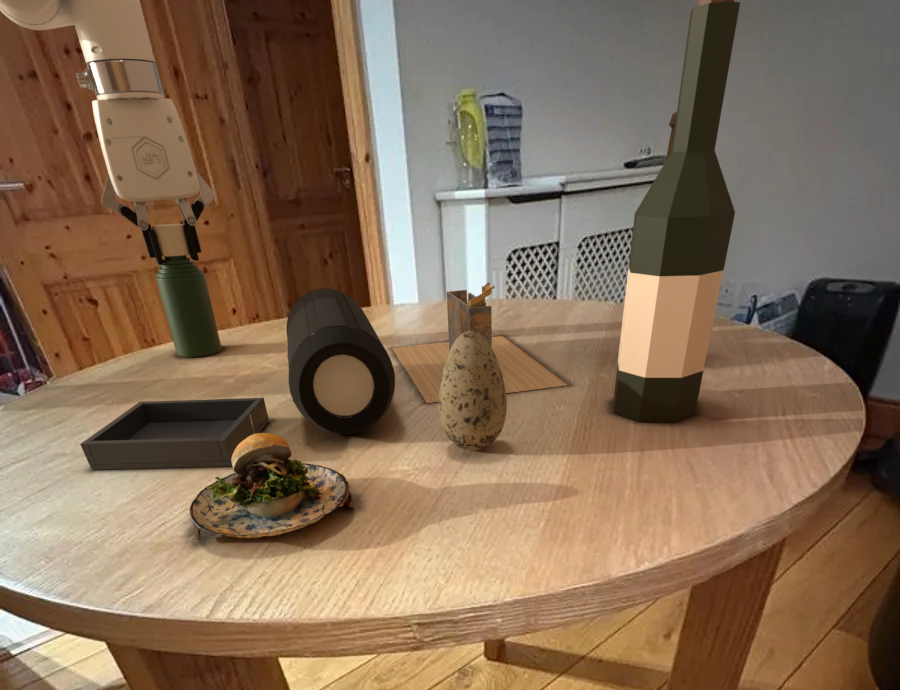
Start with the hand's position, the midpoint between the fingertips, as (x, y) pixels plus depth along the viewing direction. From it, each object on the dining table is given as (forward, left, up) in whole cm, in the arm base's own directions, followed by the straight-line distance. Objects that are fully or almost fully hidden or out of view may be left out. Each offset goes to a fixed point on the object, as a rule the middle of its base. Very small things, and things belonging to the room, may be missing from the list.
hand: (177, 260), depth 81 cm
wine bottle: (+59, -30, -12) cm, 67 cm away
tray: (+13, -36, -12) cm, 40 cm away
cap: (0, 0, +1) cm, 1 cm away
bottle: (0, 0, -12) cm, 12 cm away
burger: (+26, -51, -12) cm, 58 cm away
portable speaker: (+26, -25, -12) cm, 38 cm away
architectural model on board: (+40, -12, -12) cm, 44 cm away
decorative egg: (+41, -39, -12) cm, 58 cm away
